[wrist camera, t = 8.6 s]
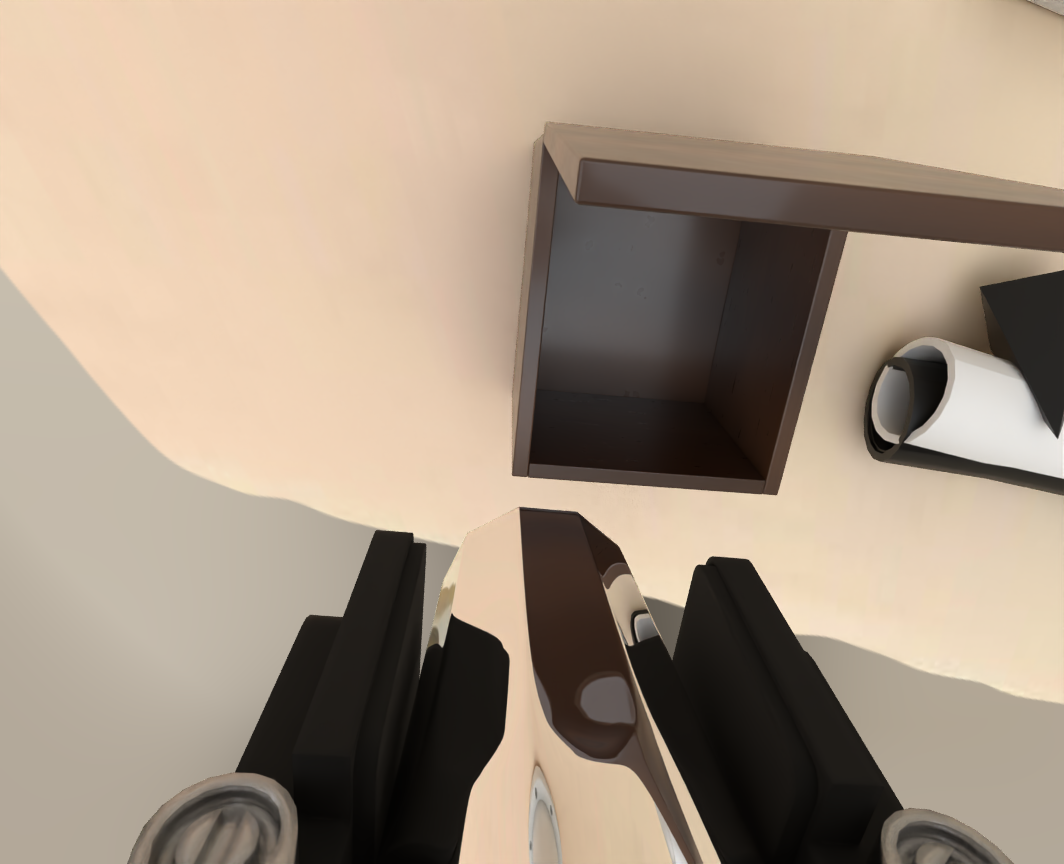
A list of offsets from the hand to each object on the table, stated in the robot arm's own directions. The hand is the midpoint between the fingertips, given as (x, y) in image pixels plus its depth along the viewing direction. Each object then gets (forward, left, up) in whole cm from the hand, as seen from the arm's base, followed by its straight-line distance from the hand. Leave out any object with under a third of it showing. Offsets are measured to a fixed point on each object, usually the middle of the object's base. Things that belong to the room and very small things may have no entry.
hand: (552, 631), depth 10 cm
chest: (0, +7, -33) cm, 34 cm away
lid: (-7, +7, -12) cm, 16 cm away
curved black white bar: (+5, +41, -33) cm, 53 cm away
